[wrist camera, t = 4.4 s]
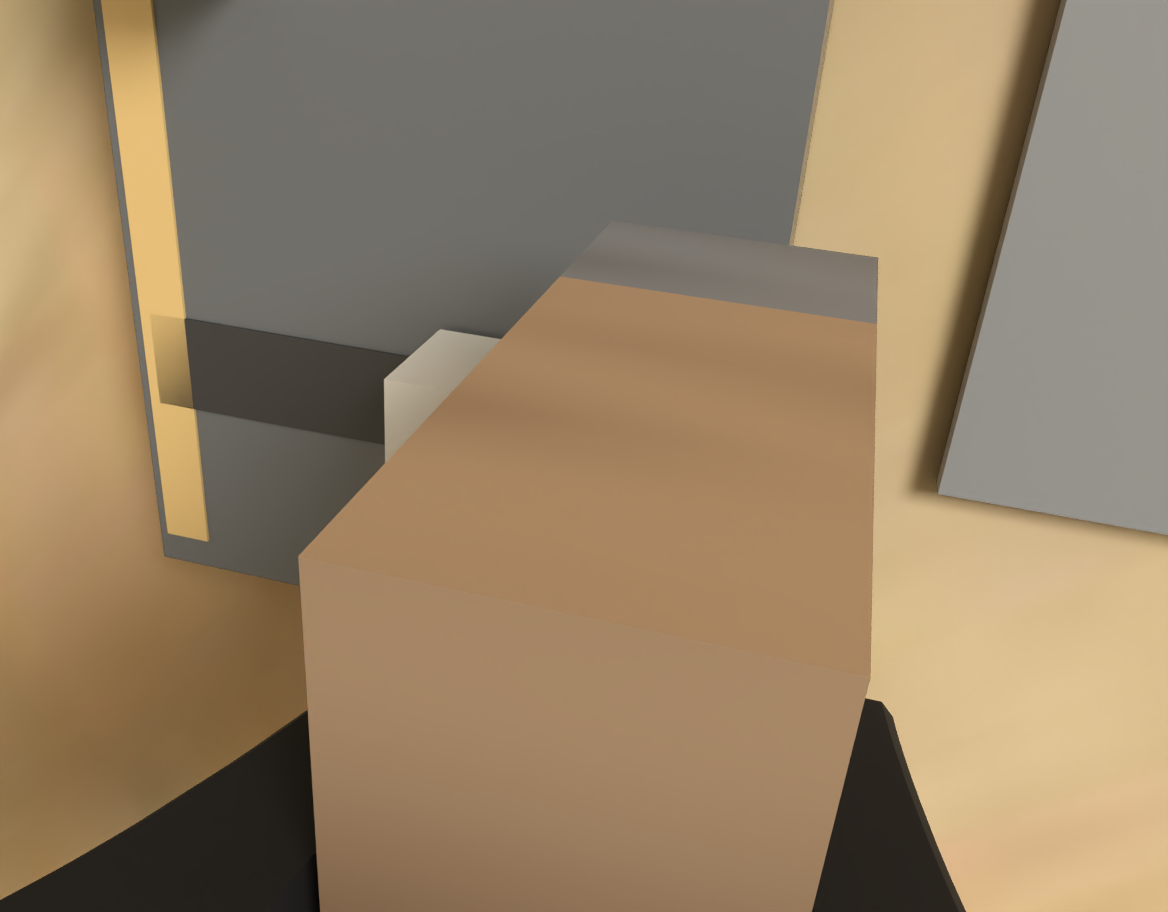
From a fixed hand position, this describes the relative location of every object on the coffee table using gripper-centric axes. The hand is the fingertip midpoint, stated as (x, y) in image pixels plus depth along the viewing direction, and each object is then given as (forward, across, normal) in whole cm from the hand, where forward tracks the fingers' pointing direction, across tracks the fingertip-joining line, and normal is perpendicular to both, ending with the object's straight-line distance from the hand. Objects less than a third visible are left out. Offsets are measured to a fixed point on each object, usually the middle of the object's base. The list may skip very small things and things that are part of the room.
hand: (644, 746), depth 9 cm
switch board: (+7, +4, -2) cm, 9 cm away
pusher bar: (+3, 0, 0) cm, 3 cm away
